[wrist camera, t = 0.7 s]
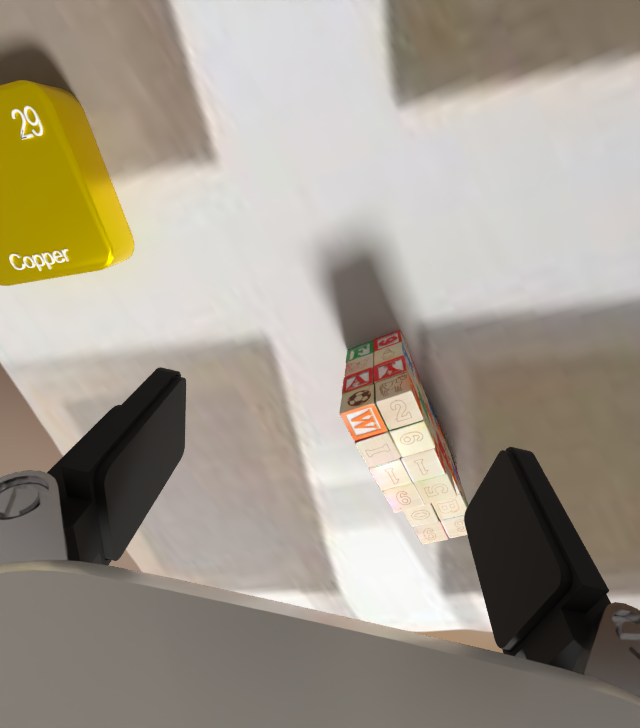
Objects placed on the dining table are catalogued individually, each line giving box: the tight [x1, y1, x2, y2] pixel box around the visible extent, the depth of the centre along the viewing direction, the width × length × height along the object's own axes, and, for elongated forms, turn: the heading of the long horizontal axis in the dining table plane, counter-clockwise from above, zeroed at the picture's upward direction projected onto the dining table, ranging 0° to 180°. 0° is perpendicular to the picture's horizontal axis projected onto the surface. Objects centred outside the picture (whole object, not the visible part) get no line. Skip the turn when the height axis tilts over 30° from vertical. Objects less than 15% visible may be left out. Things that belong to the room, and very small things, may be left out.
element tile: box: [0, 80, 134, 286], centre depth 35 cm, size 15×15×5 cm
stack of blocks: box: [340, 330, 468, 544], centre depth 40 cm, size 21×6×12 cm, turn 26°
